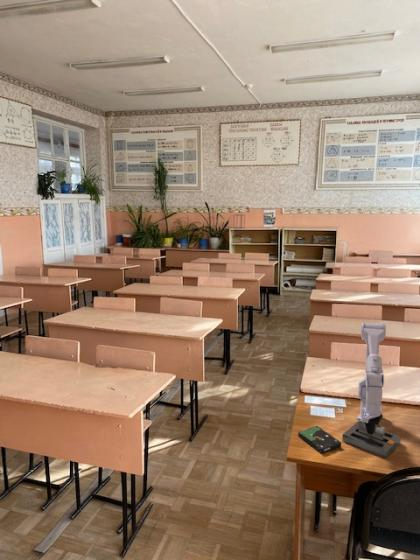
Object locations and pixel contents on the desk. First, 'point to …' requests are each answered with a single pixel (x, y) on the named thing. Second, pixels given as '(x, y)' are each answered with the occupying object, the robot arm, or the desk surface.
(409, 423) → the desk surface
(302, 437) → the disk drive
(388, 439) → the rack block
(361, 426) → the steel panel
